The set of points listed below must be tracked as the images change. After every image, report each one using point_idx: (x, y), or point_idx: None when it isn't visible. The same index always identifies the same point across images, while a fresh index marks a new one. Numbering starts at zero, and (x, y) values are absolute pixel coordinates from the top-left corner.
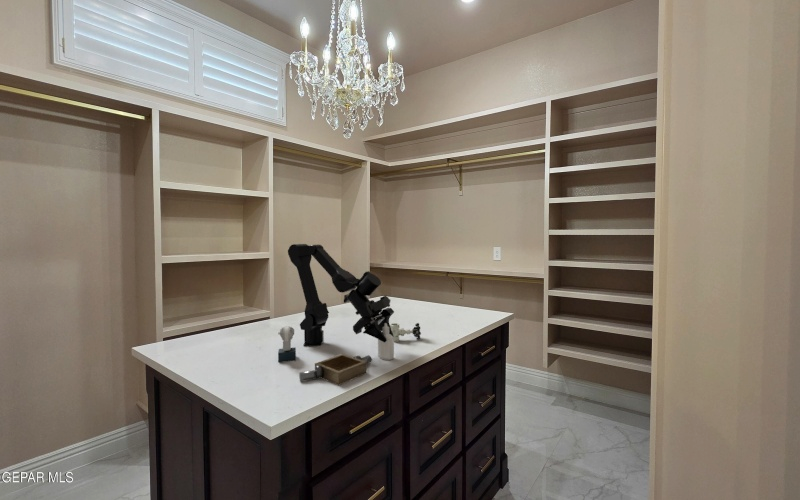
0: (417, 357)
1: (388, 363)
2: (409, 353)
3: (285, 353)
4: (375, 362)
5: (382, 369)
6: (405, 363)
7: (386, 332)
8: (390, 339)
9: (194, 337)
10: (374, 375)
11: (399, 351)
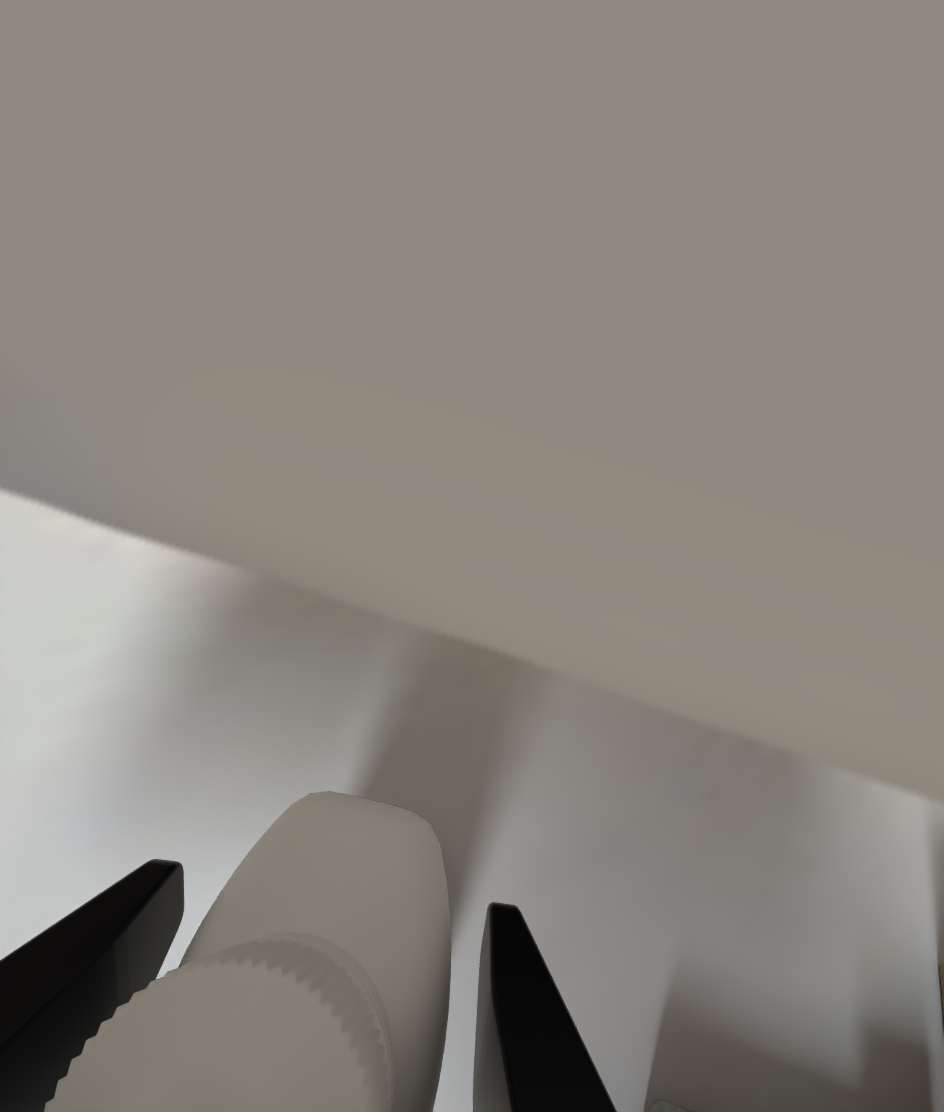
0: (247, 578)
1: (534, 826)
2: (121, 702)
3: None
4: None
5: (729, 815)
6: (457, 638)
7: (377, 997)
8: (428, 824)
9: None
10: (913, 828)
11: (43, 871)
